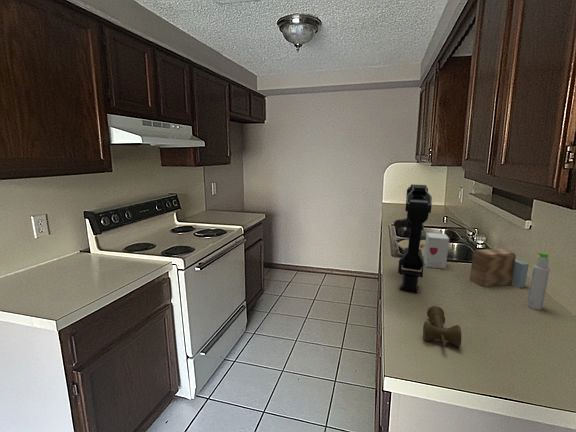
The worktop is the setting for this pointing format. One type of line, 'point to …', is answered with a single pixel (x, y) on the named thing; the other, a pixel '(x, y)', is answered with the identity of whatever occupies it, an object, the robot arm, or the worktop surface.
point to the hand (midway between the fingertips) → (412, 248)
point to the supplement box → (436, 250)
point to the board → (519, 273)
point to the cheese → (404, 243)
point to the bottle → (539, 282)
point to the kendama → (440, 328)
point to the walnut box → (492, 267)
